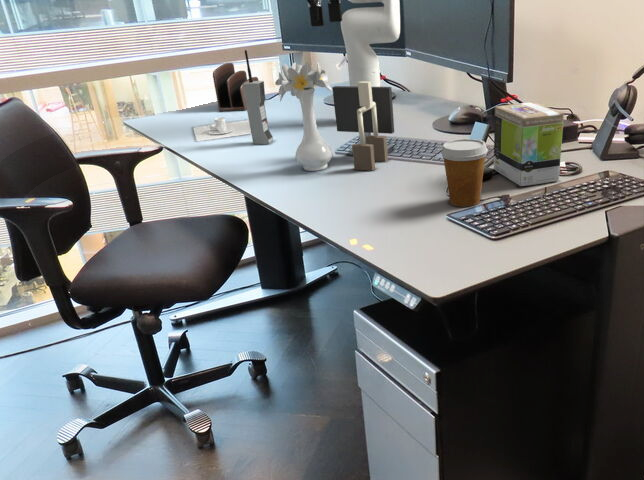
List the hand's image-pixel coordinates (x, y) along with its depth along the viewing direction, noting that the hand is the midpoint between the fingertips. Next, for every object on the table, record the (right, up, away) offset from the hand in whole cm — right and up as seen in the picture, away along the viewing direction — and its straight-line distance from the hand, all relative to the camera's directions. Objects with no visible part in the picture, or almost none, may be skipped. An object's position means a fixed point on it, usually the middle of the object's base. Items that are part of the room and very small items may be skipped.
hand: (327, 23), depth 155 cm
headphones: (+10, -31, +10) cm, 34 cm away
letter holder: (-41, +14, +86) cm, 96 cm away
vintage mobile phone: (-23, -17, +36) cm, 46 cm away
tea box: (+46, -38, -5) cm, 60 cm away
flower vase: (-5, -31, +11) cm, 34 cm away
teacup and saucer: (-38, -7, +53) cm, 66 cm away
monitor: (+10, -24, +20) cm, 33 cm away
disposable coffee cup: (+31, -47, -17) cm, 59 cm away
